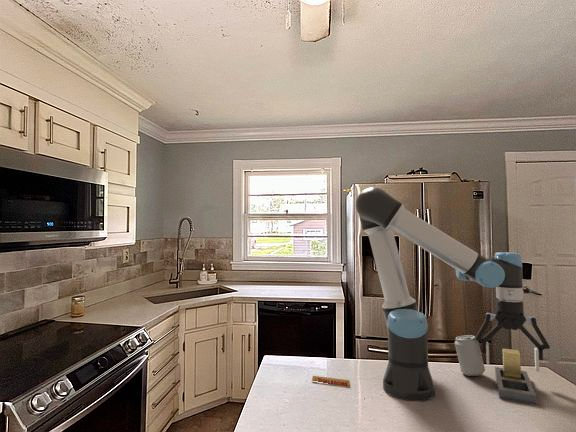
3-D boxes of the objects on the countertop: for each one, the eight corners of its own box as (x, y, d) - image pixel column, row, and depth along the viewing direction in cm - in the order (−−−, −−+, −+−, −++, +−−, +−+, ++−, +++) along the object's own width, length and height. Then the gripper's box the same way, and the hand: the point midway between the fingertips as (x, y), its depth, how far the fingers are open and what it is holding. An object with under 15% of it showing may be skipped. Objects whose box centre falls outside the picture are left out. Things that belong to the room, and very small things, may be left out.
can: (489, 375, 118) (479, 337, 120) (464, 377, 119) (456, 340, 121) (481, 368, 125) (473, 333, 127) (459, 370, 127) (451, 336, 128)
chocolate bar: (349, 389, 113) (348, 381, 113) (311, 384, 117) (311, 377, 117) (350, 385, 115) (350, 378, 115) (313, 381, 119) (313, 374, 119)
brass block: (504, 384, 115) (503, 352, 116) (503, 379, 119) (502, 348, 120) (521, 387, 113) (520, 354, 113) (519, 381, 117) (518, 350, 117)
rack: (499, 398, 105) (498, 389, 105) (495, 374, 123) (495, 367, 123) (536, 404, 101) (536, 395, 101) (526, 379, 119) (526, 371, 119)
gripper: (466, 298, 120) (468, 364, 119) (559, 305, 108) (562, 377, 107) (466, 295, 126) (468, 357, 125) (554, 301, 115) (556, 369, 114)
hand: (511, 366), depth 116 cm, fingers open, 13 cm apart
